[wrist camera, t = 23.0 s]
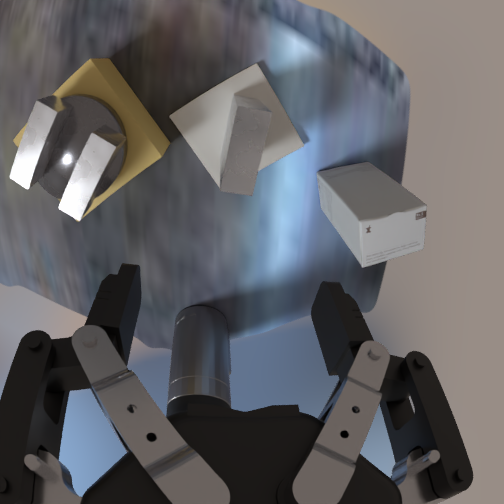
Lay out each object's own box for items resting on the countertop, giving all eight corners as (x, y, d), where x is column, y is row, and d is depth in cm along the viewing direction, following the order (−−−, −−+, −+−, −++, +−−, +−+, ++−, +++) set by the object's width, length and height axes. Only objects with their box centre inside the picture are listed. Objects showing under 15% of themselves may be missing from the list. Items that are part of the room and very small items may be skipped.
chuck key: (258, 98, 34) (272, 112, 24) (244, 160, 38) (252, 196, 29) (233, 94, 33) (237, 105, 24) (220, 156, 37) (219, 190, 28)
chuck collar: (147, 126, 29) (134, 139, 24) (99, 212, 34) (83, 236, 29) (61, 76, 24) (35, 81, 20) (24, 166, 29) (0, 184, 24)
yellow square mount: (170, 142, 36) (162, 156, 31) (93, 201, 39) (77, 221, 34) (109, 58, 29) (90, 58, 24) (36, 128, 32) (13, 140, 27)
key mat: (302, 144, 38) (304, 145, 37) (222, 189, 41) (222, 191, 40) (256, 63, 32) (256, 63, 31) (170, 115, 34) (169, 116, 34)
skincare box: (320, 207, 43) (357, 272, 31) (314, 168, 40) (356, 222, 28) (373, 196, 43) (424, 253, 31) (371, 158, 40) (430, 206, 27)
